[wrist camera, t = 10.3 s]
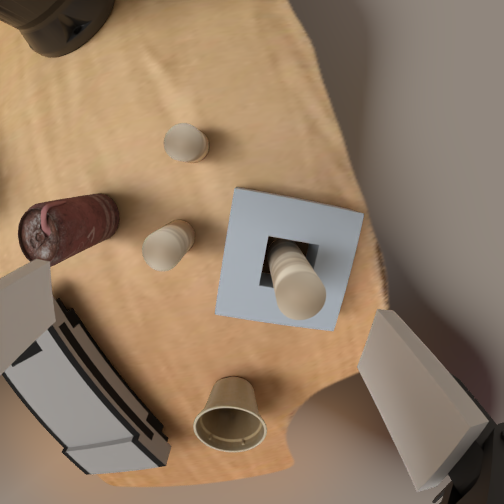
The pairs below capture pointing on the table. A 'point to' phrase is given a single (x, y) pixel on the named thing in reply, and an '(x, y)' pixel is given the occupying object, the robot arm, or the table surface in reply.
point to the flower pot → (230, 417)
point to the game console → (86, 401)
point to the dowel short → (186, 143)
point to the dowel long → (294, 281)
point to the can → (66, 227)
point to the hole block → (292, 228)
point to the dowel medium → (168, 245)
